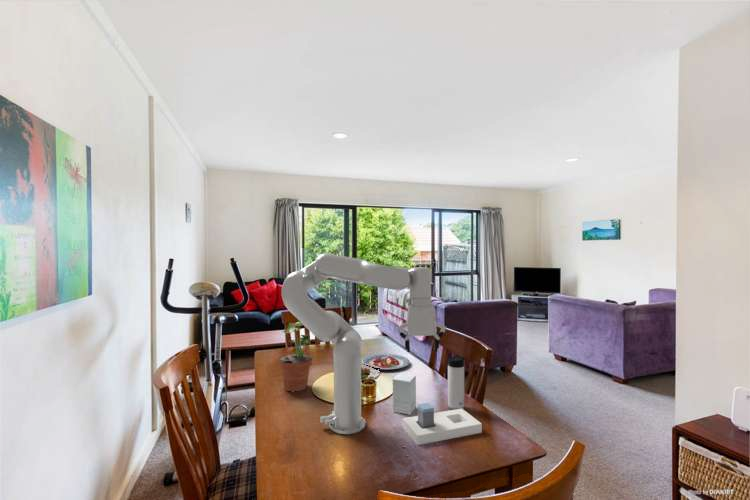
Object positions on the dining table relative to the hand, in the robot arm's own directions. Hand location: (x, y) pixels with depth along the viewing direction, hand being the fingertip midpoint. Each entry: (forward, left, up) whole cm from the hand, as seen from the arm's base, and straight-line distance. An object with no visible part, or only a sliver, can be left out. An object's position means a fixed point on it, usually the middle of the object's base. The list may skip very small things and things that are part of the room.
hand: (422, 350), depth 121 cm
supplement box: (-1, +14, -27) cm, 30 cm away
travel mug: (+19, +8, -27) cm, 34 cm away
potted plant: (-39, +50, -27) cm, 68 cm away
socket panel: (+5, -5, -26) cm, 27 cm away
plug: (-1, -4, -26) cm, 27 cm away
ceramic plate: (+11, +67, -27) cm, 73 cm away
